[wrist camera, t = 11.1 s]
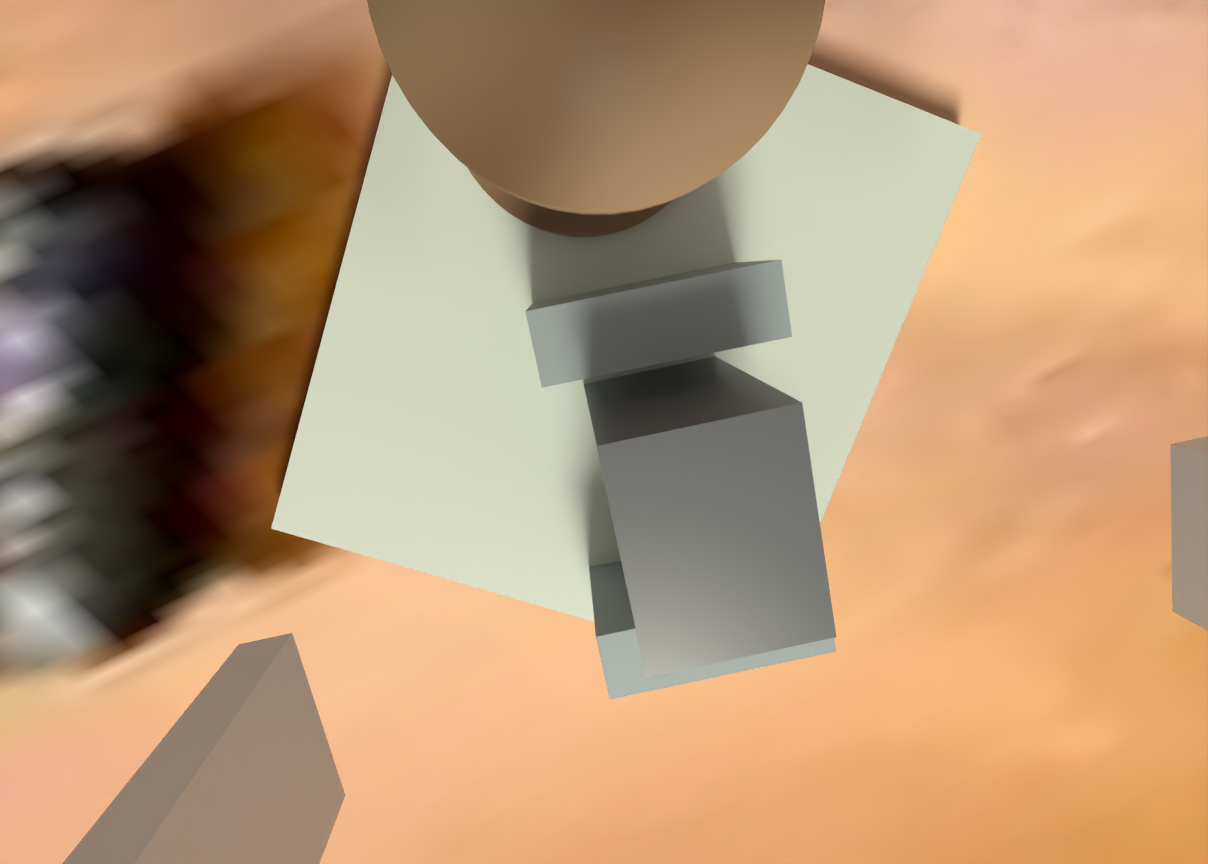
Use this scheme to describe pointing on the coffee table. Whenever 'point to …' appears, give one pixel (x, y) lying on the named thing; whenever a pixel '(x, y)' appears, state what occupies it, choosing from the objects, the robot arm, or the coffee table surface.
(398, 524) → the board
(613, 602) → the notch
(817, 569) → the gray rectangular block
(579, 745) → the coffee table surface
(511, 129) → the bobbin
